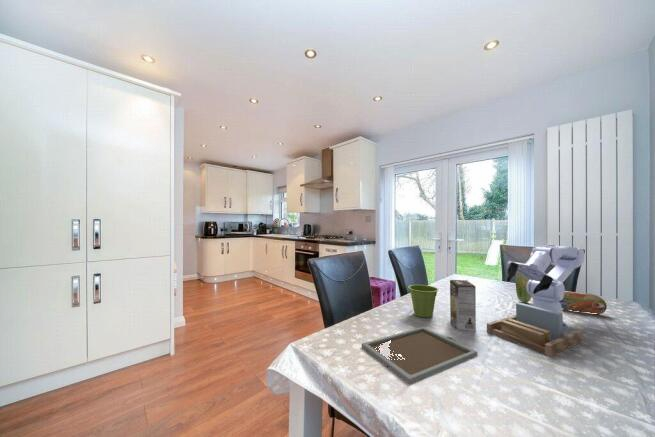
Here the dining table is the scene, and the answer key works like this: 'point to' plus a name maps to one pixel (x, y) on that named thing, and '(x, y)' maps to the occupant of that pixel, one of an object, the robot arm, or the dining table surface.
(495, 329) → the rack
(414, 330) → the picture frame
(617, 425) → the dining table surface
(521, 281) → the vegetable
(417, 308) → the plant pot
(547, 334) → the offcut
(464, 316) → the coffee box
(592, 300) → the tin
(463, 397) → the dining table surface
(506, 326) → the offcut
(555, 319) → the blue grey rectangular slab
